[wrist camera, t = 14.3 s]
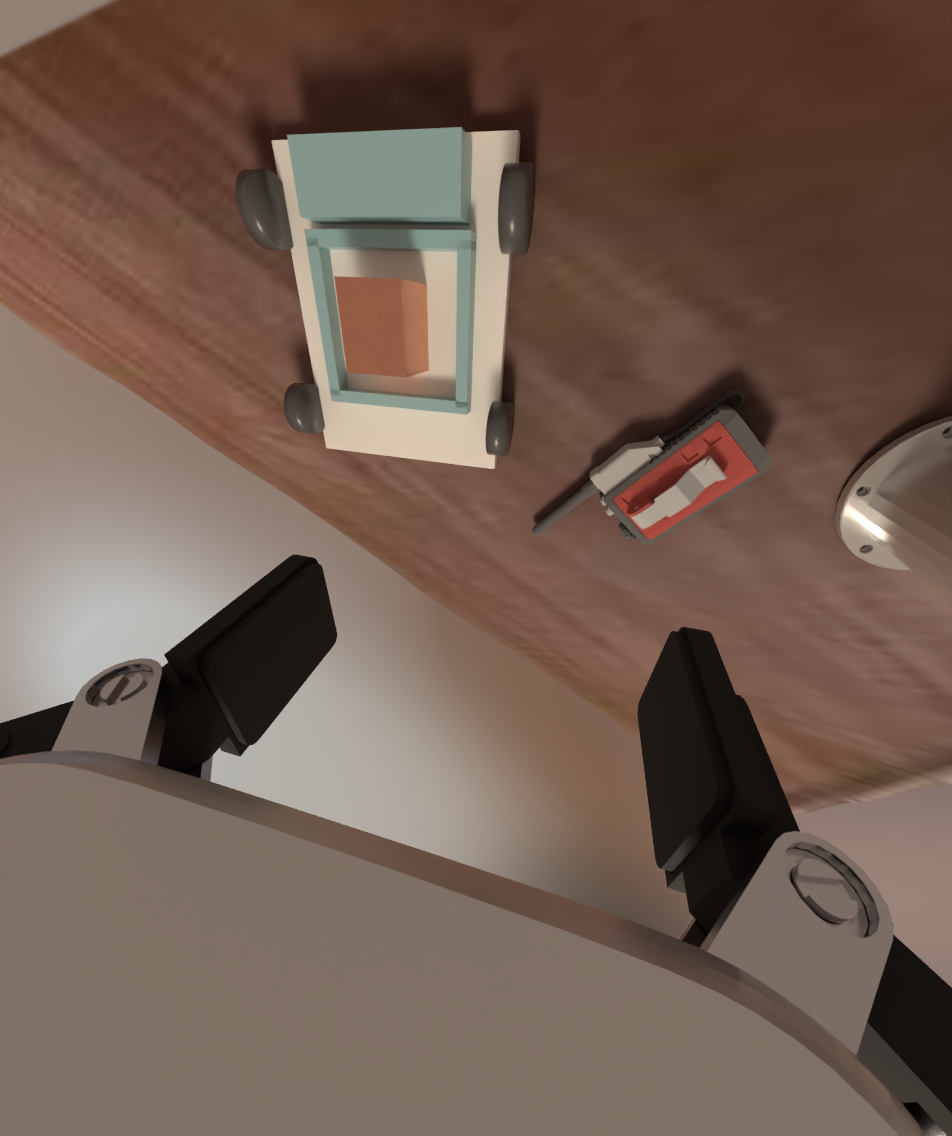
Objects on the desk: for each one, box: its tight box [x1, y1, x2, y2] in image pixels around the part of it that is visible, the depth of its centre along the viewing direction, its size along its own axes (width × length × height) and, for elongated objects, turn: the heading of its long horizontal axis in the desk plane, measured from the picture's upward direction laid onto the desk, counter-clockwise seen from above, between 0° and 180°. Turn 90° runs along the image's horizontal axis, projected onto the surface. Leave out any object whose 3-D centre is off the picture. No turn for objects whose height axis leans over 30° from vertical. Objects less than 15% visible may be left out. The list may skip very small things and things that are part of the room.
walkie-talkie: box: [532, 389, 773, 545], centre depth 33 cm, size 9×4×20 cm
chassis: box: [236, 127, 534, 469], centre depth 31 cm, size 21×22×4 cm
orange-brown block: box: [334, 276, 429, 377], centre depth 29 cm, size 5×6×5 cm
